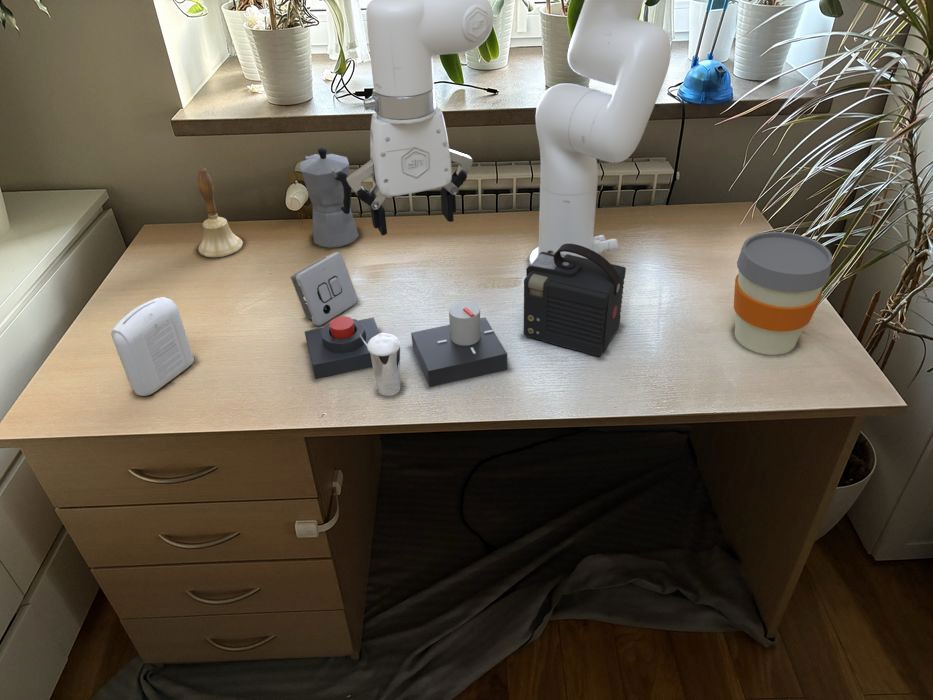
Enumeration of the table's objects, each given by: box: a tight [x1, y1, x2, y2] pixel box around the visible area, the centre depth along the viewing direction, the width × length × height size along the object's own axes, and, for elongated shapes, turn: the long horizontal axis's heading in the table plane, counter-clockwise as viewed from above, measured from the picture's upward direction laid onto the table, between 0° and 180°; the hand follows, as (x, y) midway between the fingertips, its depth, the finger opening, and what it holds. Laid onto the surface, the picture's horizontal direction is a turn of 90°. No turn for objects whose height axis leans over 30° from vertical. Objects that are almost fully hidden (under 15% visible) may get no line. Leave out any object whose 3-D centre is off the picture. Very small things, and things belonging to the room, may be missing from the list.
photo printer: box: [110, 296, 195, 397], centre depth 109 cm, size 10×4×12 cm, turn 152°
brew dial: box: [448, 300, 481, 346], centre depth 111 cm, size 5×5×5 cm
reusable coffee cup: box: [733, 231, 833, 356], centre depth 110 cm, size 13×13×15 cm
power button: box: [329, 315, 355, 339], centre depth 112 cm, size 4×4×2 cm
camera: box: [523, 244, 627, 357], centre depth 114 cm, size 11×14×15 cm
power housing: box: [304, 317, 381, 380], centre depth 114 cm, size 11×9×4 cm
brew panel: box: [410, 316, 508, 388], centre depth 113 cm, size 12×10×3 cm
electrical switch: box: [290, 252, 358, 327], centre depth 123 cm, size 9×5×9 cm, turn 141°
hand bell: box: [197, 167, 244, 258], centre depth 139 cm, size 8×8×16 cm
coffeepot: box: [299, 147, 359, 249], centre depth 139 cm, size 15×9×18 cm, turn 37°
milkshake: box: [360, 332, 402, 397], centre depth 105 cm, size 4×5×10 cm
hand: (415, 224), depth 104 cm, fingers open, 9 cm apart
